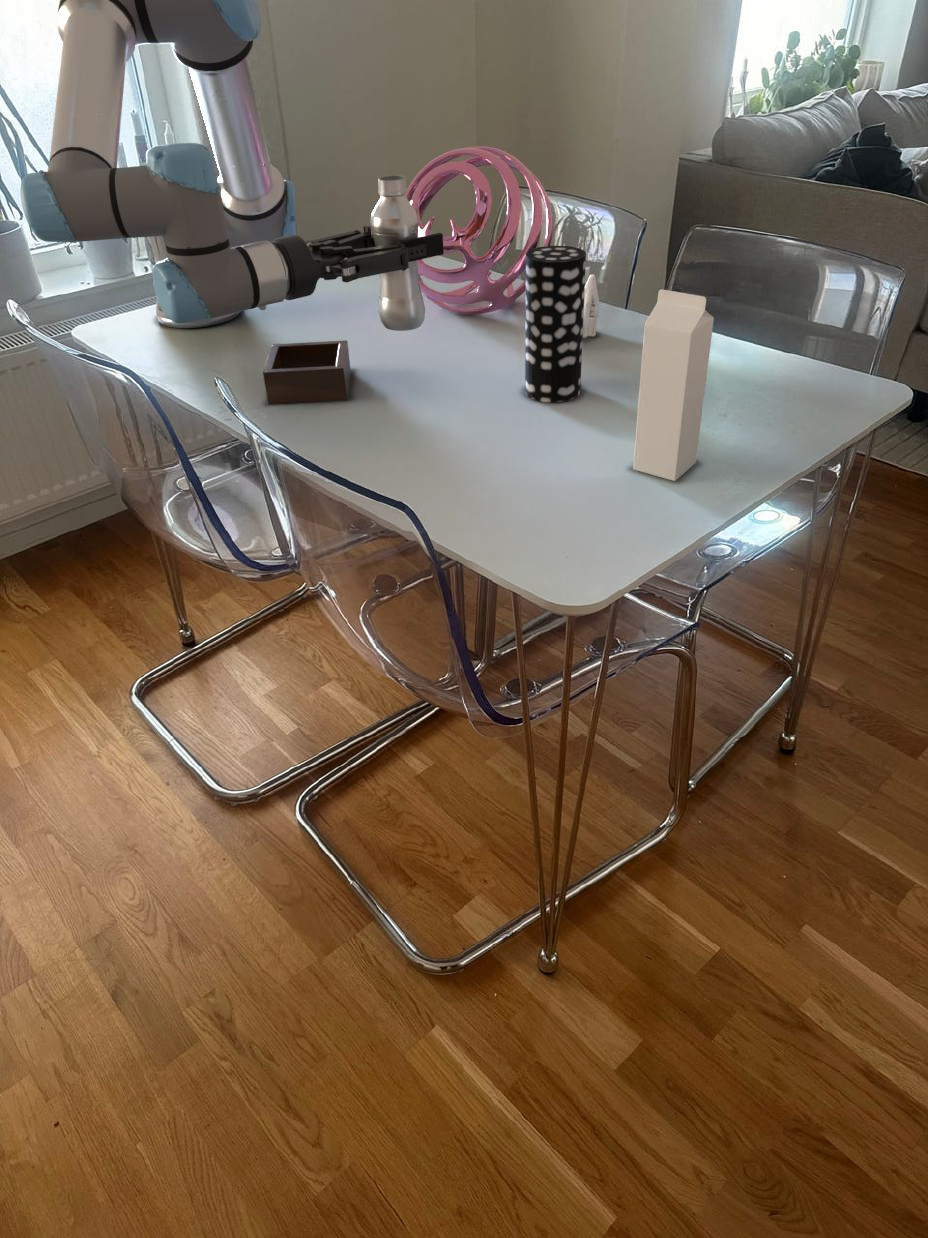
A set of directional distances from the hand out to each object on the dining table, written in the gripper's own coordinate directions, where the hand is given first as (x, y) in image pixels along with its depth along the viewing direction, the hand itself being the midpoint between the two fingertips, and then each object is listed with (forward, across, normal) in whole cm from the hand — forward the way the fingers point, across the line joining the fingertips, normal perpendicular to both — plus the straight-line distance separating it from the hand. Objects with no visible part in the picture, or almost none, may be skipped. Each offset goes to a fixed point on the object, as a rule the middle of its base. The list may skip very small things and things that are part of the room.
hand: (427, 238), depth 128 cm
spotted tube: (+13, +12, -22) cm, 28 cm away
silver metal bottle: (-5, 0, -12) cm, 13 cm away
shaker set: (+29, -2, -22) cm, 36 cm away
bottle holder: (-15, -13, -22) cm, 29 cm away
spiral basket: (+26, -28, -22) cm, 44 cm away
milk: (+9, +40, -22) cm, 47 cm away
